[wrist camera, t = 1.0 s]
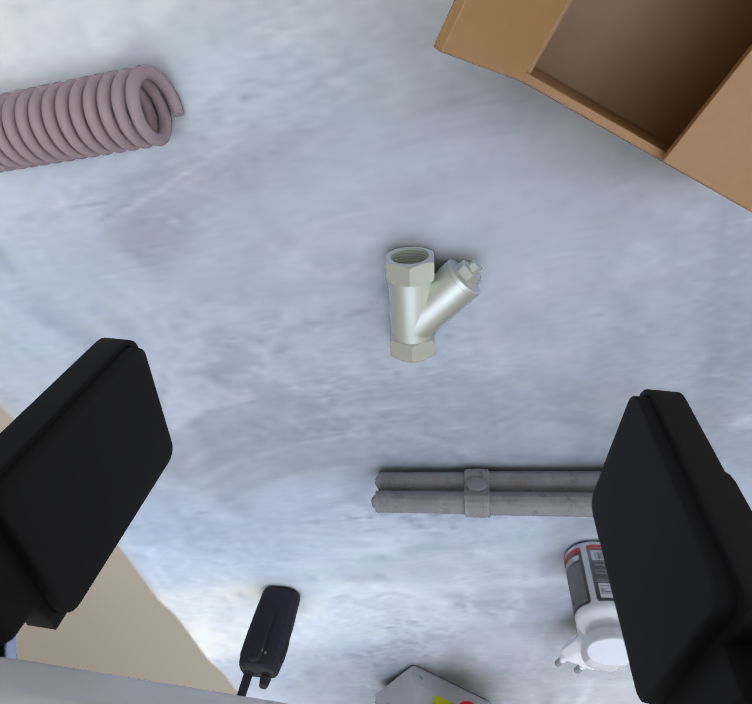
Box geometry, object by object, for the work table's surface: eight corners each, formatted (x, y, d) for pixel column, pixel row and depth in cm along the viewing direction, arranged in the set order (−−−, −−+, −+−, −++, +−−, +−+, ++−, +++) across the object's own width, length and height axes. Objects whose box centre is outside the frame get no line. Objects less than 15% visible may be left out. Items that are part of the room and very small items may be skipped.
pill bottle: (579, 577, 57) (597, 673, 49) (553, 548, 55) (568, 644, 47) (630, 563, 54) (658, 662, 46) (606, 532, 52) (631, 630, 44)
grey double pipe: (656, 461, 46) (674, 506, 42) (652, 482, 48) (669, 528, 43) (375, 462, 52) (367, 502, 47) (379, 481, 53) (372, 522, 49)
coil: (-61, 190, 36) (165, 154, 32) (-112, 121, 33) (129, 72, 30) (-14, 165, 40) (194, 130, 36) (-57, 101, 37) (165, 55, 33)
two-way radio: (265, 598, 69) (221, 726, 57) (257, 578, 67) (209, 708, 55) (304, 601, 68) (268, 732, 56) (297, 581, 66) (258, 714, 54)
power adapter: (579, 645, 64) (588, 697, 60) (544, 632, 64) (550, 684, 59) (635, 603, 58) (650, 658, 53) (597, 589, 58) (608, 643, 53)
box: (505, 58, 31) (518, 81, 22) (663, -233, 23) (769, -361, 15) (708, 175, 32) (791, 236, 24) (912, -62, 25) (1131, -92, 17)
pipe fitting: (479, 242, 38) (387, 246, 38) (485, 265, 34) (384, 268, 35) (475, 335, 42) (392, 337, 43) (479, 363, 39) (390, 364, 39)
